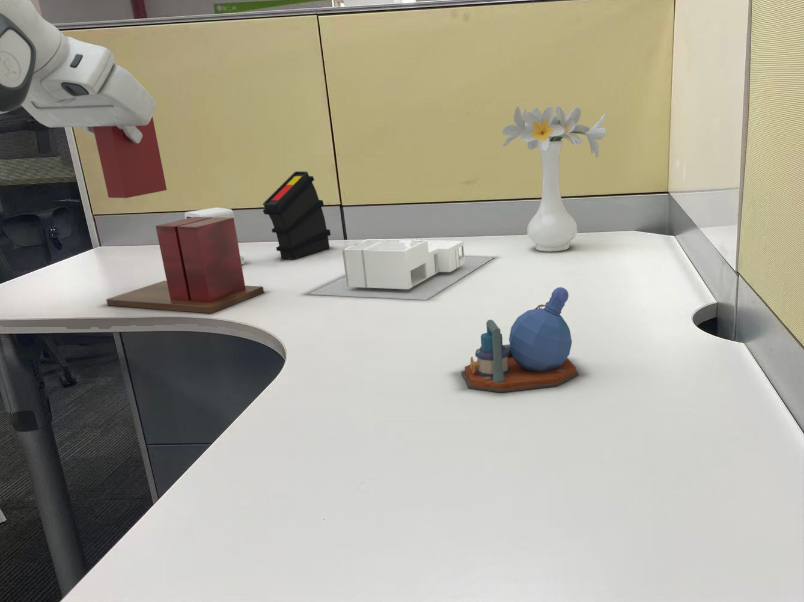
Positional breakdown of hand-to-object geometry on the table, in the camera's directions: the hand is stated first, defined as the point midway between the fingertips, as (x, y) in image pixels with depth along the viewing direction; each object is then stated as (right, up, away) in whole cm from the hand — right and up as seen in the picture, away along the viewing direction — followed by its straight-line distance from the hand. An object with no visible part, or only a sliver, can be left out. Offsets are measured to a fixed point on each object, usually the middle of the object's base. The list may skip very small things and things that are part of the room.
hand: (125, 140), depth 118 cm
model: (+58, -35, -31) cm, 74 cm away
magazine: (+17, -11, +35) cm, 41 cm away
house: (+40, -18, +15) cm, 46 cm away
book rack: (+6, -23, +7) cm, 24 cm away
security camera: (+3, -14, +29) cm, 33 cm away
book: (0, -7, +3) cm, 8 cm away
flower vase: (+65, -11, +31) cm, 72 cm away
